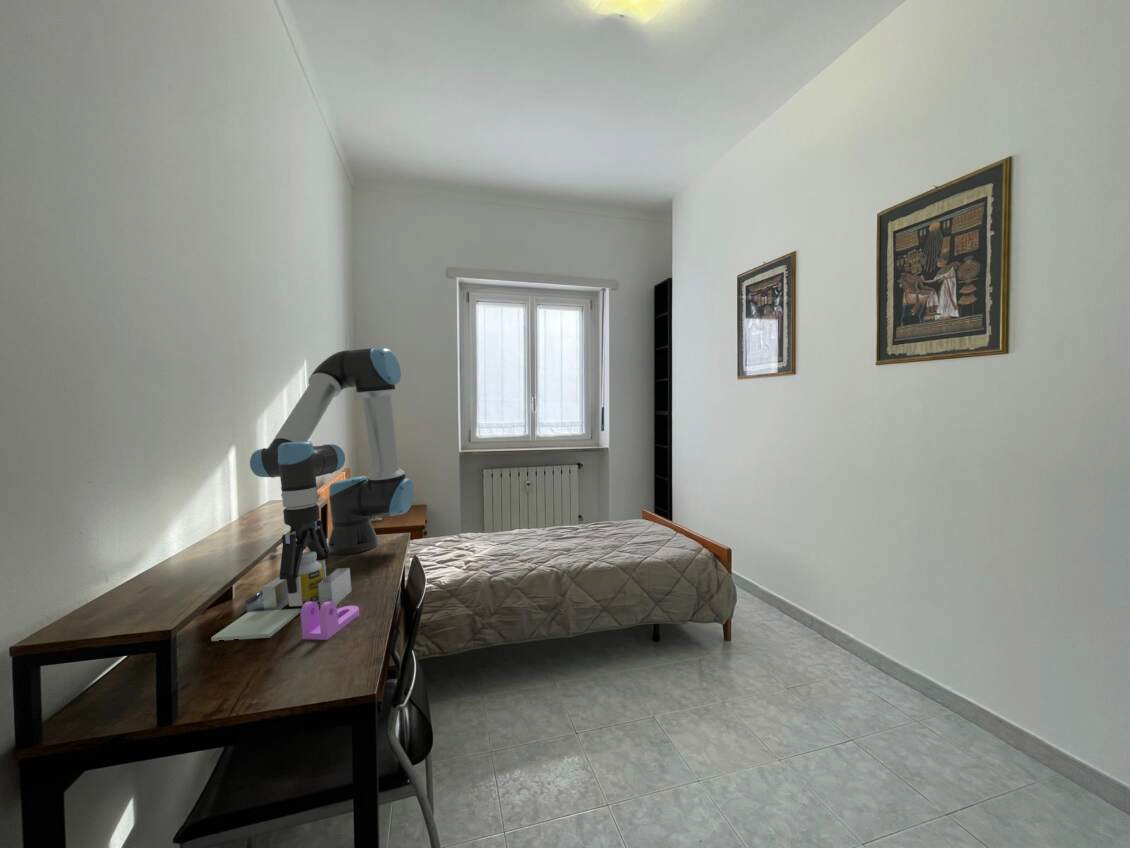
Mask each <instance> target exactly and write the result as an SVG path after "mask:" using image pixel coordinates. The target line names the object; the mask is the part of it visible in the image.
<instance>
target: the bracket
mask: <svg viewBox="0 0 1130 848" xmlns="http://www.w3.org/2000/svg"><path fill="white" fill-rule="evenodd" d="M337 605H338V604H337ZM337 605H336V603H335V602H324V603H323V604H322V606H321V608H320V605H319V602H318V603H317V602H306V603H305V604H304V605H303V606H301V608H300V609H301V612H300V613H299V614H300V624H301V625H300V626H301V632H302V634H301V635H302V640H321V641H323V640H324V641H325V640H329V639H330V638H332V637H333V636H334V635H335V634H337V633H338V632H340V631H341V630H342V629H344V628H345V627H346V626H347V625H349V624H350V623H351V622H352V621H354V620H355V619H357V617H359V615H360V608H359V606H357V605H346V606H341V607H339V608H338V606H337Z"/></svg>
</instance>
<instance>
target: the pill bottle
mask: <svg viewBox="0 0 1130 848" xmlns="http://www.w3.org/2000/svg"><path fill="white" fill-rule="evenodd" d="M316 558H317V554H316V552H311V551H303V554H302V559H301V563H300V568H299V572H298V577H300V580H301V590H302V601H303V605H304V604H305V603H306V602H317V603H318V604H319V603H320V600H319V589H318V583H320V582H321V581H322V580H323V575H322V565H321V564H320V563H319V562H317V561H316ZM303 605H301V606H300V607H302V606H303Z"/></svg>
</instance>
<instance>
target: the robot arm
mask: <svg viewBox="0 0 1130 848" xmlns="http://www.w3.org/2000/svg"><path fill="white" fill-rule="evenodd" d="M401 377H402V372H401V366H400V363H399V360H398V358H397V356H396V355H395V354H394V352H393V351H392V350H390V349H388V348H383V347H373V348H362V349H351V350H349V349H347V350H346V349H345V350H342V351H341V350H340V351H338V352H337V351H336V353H333V354H331V355H330V356H327V358H326V359H324V360H323V361H322V362H321V363H320V364H319V365H318V366H317V367H316V368H315V369H314V371H313V372H312V373H311V375H310V376H309V378H308V386H307V388H306V389H305V391H304V392H303V393H302V395H301V397H300V398H299V400H298V402H297V403H296V405H295V406H294V407H293V409H292V410H291V412H290V413H289V415H288V416H287V418H286V420H285V421H284V423H283V425H282V426H281V427H280V429H279V430H278V432H277V434H276V435H275V437H274V438H273V440H272V441H271V443H270V444H269V446H268V447H267V448H265V447H263V448H260V449H257V450H255V451H254V452H253V453H252V454H251V456H250V459H249V468H250V470H251V471H252V473H253V474H254V475H255V476H257V477H260V478H271V479H272V478H274V479H275V478H280V489H281V498H282V499H281V500H282V507H283V508H284V509H283V523H284V524H285V525H286V526H289V527H290V528H289V529H290V531H289V533H288V534H283V535H282V536H281V541H282V550H281V559H280V569H279V576H280V577H279V576H278V577H279V578H280V580H285V579H286V580H287V587H288V598H289V603H288V606H289V607H302V606H301V605H303V601H302V590H301V580H300V577H298V572H299V568H300V563H301V559H302V554H303V553H304V550H306V548H308V550H309V552H316V554H317V558H316V561H317V562H319V563H320V564H321V565H322V575H323V579H325V578H326V577H327V568H326V560H328V559H330V554H332V555H335V556H336V555H338V556H339V555H352V554H357V553H361V552H366V551H368V550H371V549H373V548H375V547H376V546H378V544H379V541H378V540H379V539H378V535H377V534H376V533H377V532H376V531H375V529H374V527H373V525H372V522H371V517H380V516H381V517H383V516H385V517H386V516H391V517H394V516H400V515H405V514H406V513H407V512H408V511H409V510H410V508H411V506H412V504H413V502H414V501H413V500H414V497H415V487H414V483H413V480H411V479H410V478H407V477H406V472H405V471H404V469H402V468H401V467H400V463H399V462H400V461H399V453H398V443H397V436H396V435H397V434H396V427H395V419H394V409H393V408H394V407H393V401H392V394H393V393H394V392H395V391H396V386H395V385H397V384H399V383H400V381H401ZM347 388H355V389H356V391H355V392H356V394H357V395H359V397H361V399H362V405H363V413H364V421H365V429H366V436H367V445H368V446H367V447H368V452H369V453H368V454H369V462H370V468H371V469H370V470H371V472H370V473H369V474H368V476H366V475H359V476H355V477H351V478H345V479H341V480H337V481H334V482H332V483H331V484H330V485H329V489H328V490H329V491H328V492H329V496H328V498H329V506H330V515H331V525H332V526H331V527H332V528H331V531H330V537H329V540H328V542H327V540H326V534H325V532H324V529H323V521H322V520H321V519H320V508H319V507H320V506H319V505H318V504H317V503H318V502H319V496H318V488H317V487H318V485H317V477H320V476H324V475H327V474H330V475H331V474H333V473H335V472H338V471H339V470H341V469H342V468H343V467H344V464H346V463H345V462H346V455H345V452H344V450H343V448H342V447H340V446H339V445H337V444H333V443H332V444H330V443H329V444H323V445H315V446H314V444H313V442H312V441H310V438H311V436H312V435H313V433H314V431H315V429H316V428H317V426H318V424H319V423H320V421H321V419H322V418H323V416H324V414H325V412H326V411H327V409H328V408H329V405H330V404H331V403H332V401H333V399H334V398H336V397H338V396H339V395H340V394H341V392H342V391H343V390H344V389H347ZM365 550H366V551H365Z"/></svg>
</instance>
